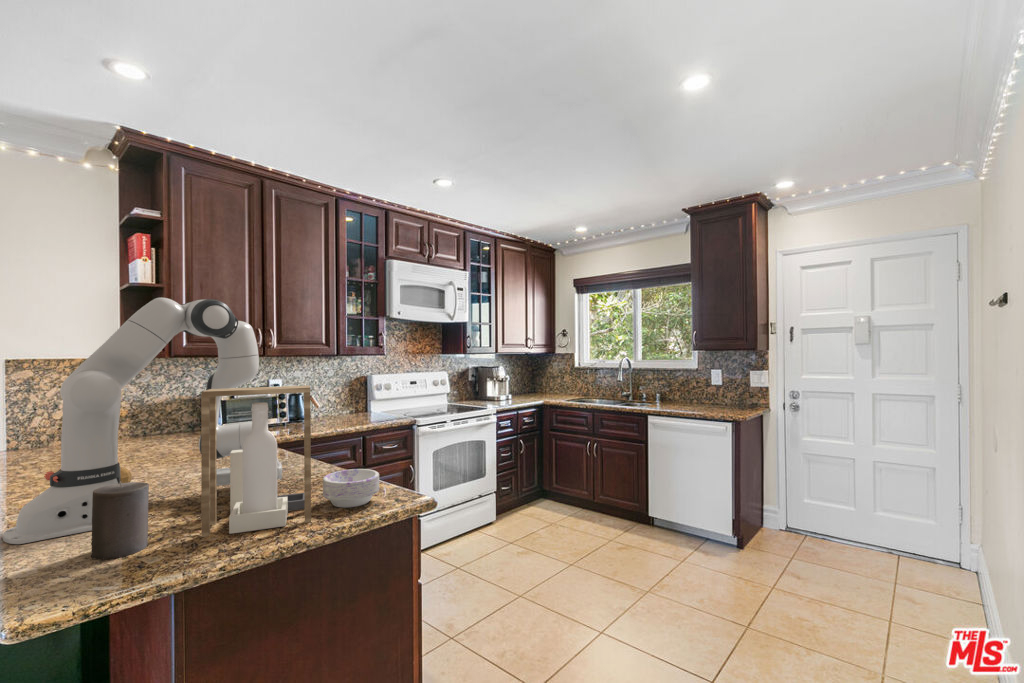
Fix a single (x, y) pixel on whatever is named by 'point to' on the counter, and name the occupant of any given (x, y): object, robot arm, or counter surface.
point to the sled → (236, 518)
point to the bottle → (259, 464)
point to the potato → (125, 475)
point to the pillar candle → (119, 520)
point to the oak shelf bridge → (210, 447)
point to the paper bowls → (350, 487)
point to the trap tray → (295, 501)
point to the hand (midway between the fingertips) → (240, 481)
